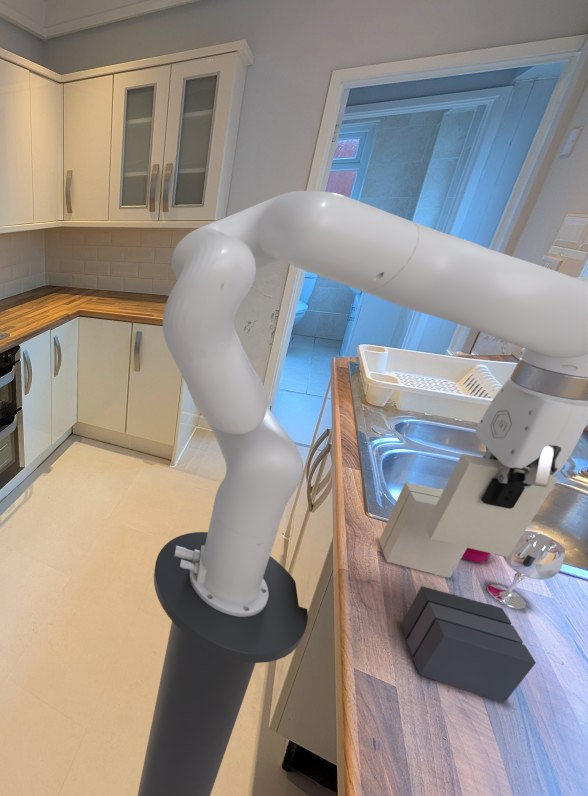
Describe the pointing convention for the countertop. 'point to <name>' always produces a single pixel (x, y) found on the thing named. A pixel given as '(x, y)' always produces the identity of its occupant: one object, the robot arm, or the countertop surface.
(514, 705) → the countertop surface
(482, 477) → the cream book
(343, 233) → the robot arm
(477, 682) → the dark grey grooved block
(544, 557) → the wineglass
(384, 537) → the beige rectangular block
